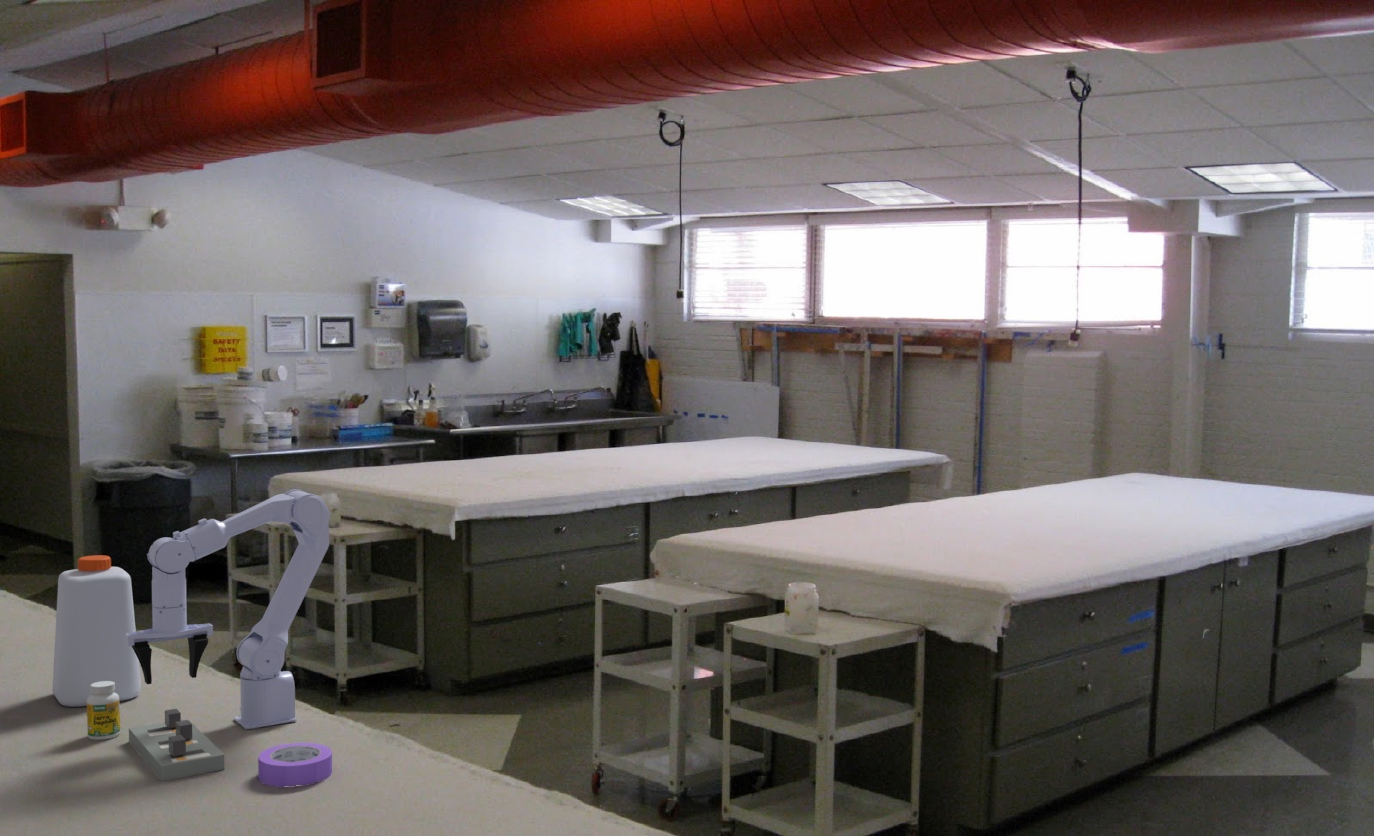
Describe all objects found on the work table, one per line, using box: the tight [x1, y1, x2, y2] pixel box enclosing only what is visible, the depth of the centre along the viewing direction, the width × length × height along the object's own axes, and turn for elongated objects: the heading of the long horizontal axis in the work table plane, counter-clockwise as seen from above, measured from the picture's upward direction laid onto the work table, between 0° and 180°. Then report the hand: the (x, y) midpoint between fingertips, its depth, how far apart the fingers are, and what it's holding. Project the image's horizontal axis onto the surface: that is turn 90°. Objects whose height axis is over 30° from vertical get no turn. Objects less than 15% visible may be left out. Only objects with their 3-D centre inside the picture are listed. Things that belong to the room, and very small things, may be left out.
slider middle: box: [176, 719, 193, 739], centre depth 220 cm, size 2×3×2 cm, turn 35°
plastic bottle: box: [52, 554, 142, 708], centre depth 253 cm, size 15×15×28 cm
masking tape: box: [257, 742, 333, 788], centre depth 210 cm, size 12×12×4 cm
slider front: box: [169, 735, 186, 756], centre depth 211 cm, size 2×3×2 cm, turn 35°
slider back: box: [164, 708, 182, 728], centre depth 226 cm, size 2×3×2 cm, turn 35°
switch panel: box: [128, 718, 226, 782], centre depth 219 cm, size 10×24×3 cm, turn 35°
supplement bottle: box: [86, 681, 121, 741], centre depth 229 cm, size 5×5×10 cm
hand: (170, 679), depth 228 cm, fingers open, 7 cm apart
